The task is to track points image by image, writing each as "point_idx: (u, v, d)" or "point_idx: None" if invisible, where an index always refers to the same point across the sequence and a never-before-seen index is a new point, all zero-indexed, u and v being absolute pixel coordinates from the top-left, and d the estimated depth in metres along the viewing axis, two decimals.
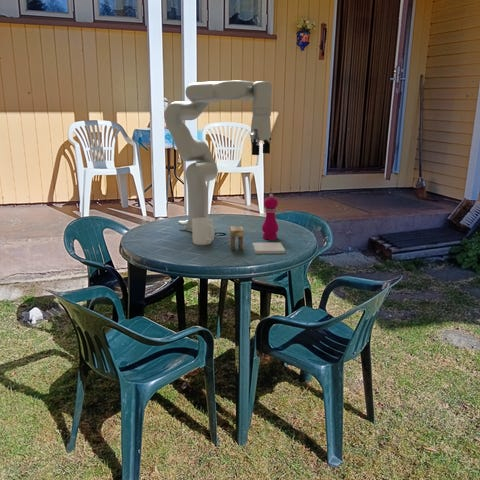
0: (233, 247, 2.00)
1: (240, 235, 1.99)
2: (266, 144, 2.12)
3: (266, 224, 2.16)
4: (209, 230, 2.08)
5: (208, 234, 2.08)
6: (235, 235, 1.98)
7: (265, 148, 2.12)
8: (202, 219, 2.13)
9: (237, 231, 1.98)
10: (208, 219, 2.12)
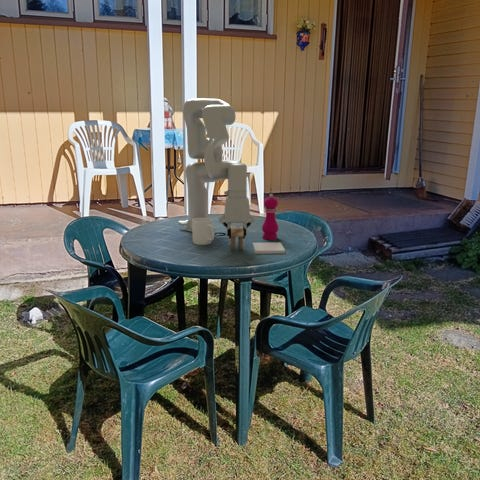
0: (233, 247, 2.00)
1: (240, 235, 1.99)
2: (230, 228, 2.02)
3: (266, 224, 2.16)
4: (209, 230, 2.08)
5: (208, 234, 2.08)
6: (235, 235, 1.98)
7: (230, 233, 2.02)
8: (202, 219, 2.13)
9: (237, 231, 1.98)
10: (208, 219, 2.12)
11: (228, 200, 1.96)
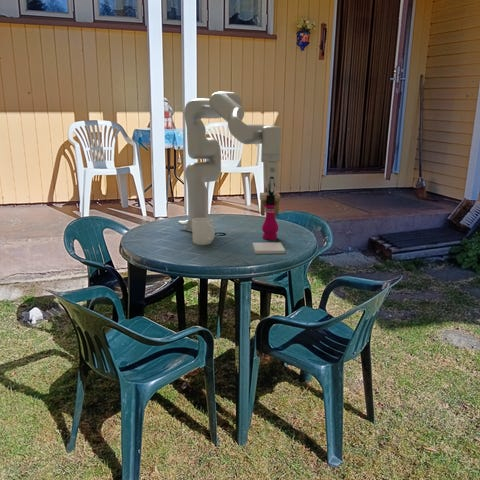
0: None
1: None
2: None
3: (266, 224, 2.16)
4: (209, 230, 2.08)
5: (208, 234, 2.08)
6: None
7: None
8: (202, 219, 2.13)
9: None
10: (208, 219, 2.12)
11: None
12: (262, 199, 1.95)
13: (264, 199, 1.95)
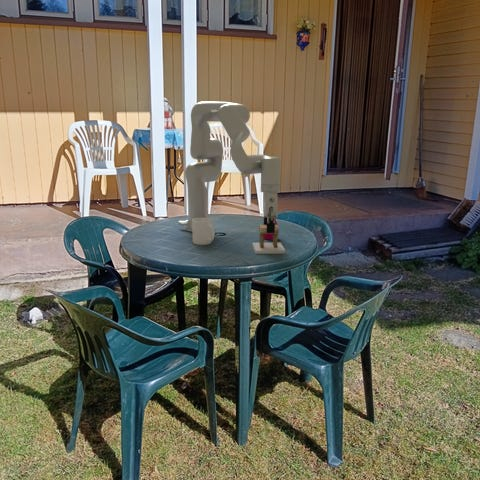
0: None
1: None
2: None
3: None
4: (209, 230, 2.08)
5: (208, 234, 2.08)
6: None
7: None
8: (202, 219, 2.13)
9: (277, 227, 2.01)
10: (208, 219, 2.12)
11: None
12: (261, 232, 1.98)
13: (263, 232, 1.99)
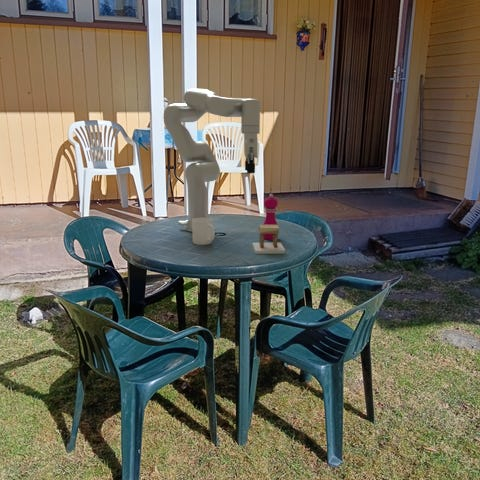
0: None
1: None
2: None
3: (266, 224, 2.16)
4: (209, 230, 2.08)
5: (208, 234, 2.08)
6: None
7: None
8: (202, 219, 2.13)
9: (277, 227, 2.01)
10: (208, 219, 2.12)
11: None
12: (261, 232, 1.98)
13: (263, 232, 1.99)
